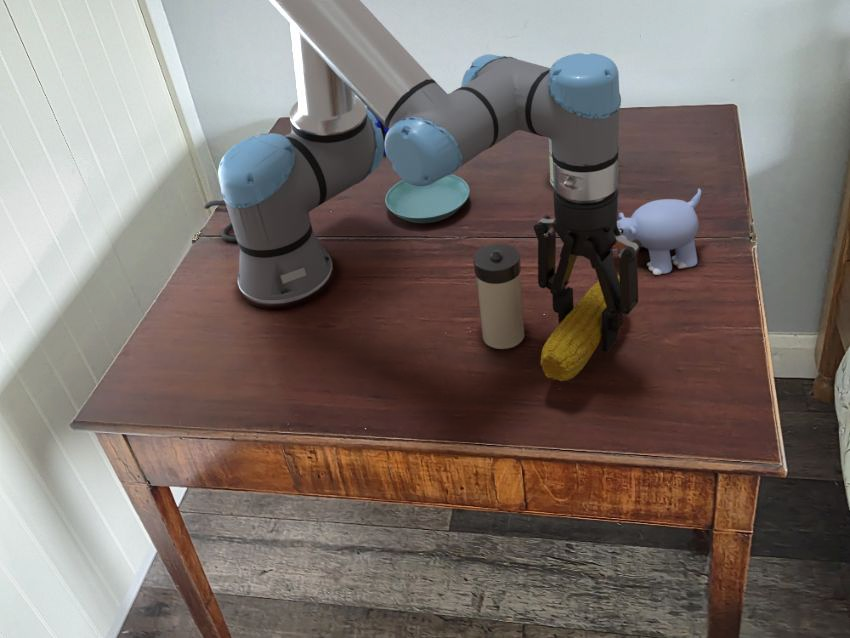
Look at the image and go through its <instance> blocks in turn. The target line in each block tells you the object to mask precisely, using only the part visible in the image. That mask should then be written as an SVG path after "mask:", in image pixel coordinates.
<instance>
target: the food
mask: <svg viewBox="0 0 850 638" xmlns="http://www.w3.org/2000/svg"><path fill="white" fill-rule="evenodd" d="M617 275H618V279H619V274H617ZM619 282H620V280H619ZM606 307H607V306H606V303H605V300H604V297H603V293H602V290H601V287H600V284H599V281H598V282H596V283H594V285H592V286H591V287H590V288H589V289H588V290H587V292H585V293H584V296H582V298H581V299H580V300H579V302H577V303H576V305H575V306H573V309H572V310H571V312H570V313H569V314H568V315H567V316H566V317H565V319H564V320H563V321H562V322H561V323H559V322H558V325H557V327H556V328H555V329H554V331H552V332H551V335H550V336H549V337H547V340H546V342H545V343H544V344H543V347H542V349H541V356H540V366H541V367H542V371H543V373H544V376H545V377H546V378H547V379H553V380H557V381H559V382H565V381H566V382H567V381H570V380H572V379H574V378H575V377H576V376H577V375H578V374H579V373H580V371H582V370H583V369H584V367H585V366H586V365H587V363H588V361H589V359H590V358H591V357H592V355H593V353H594V352H595V350H596V349H597V347H598V346H599V344H600V343H601V342H602V312H603V310H604V309H605V308H606Z"/></svg>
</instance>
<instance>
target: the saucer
mask: <svg viewBox="0 0 850 638" xmlns="http://www.w3.org/2000/svg"><path fill="white" fill-rule="evenodd" d="M469 196H470V186H469V183H467V182H466V180H464V178H462V177H461V176H458V175H456V174H454V173H452V174H450V175H447V176H445V177H443V178H442V179H440V180H438V181H436V182H434V183H432V184H430V185H427V186H415V185H412V184H409V183H407V182H406V181H404V180H403V179H401V180H400V181H398V182H397V183H396V184H394V185H393V186H392V187H390V189H389V190H388V191H387V193H386V195H385V199H384V202H385V204H386V207H387V208H388V210H389V211H390V212H391V213H393V215H395V216H397V217H399V218H400V219H402V220H404V221H406V222H409V223H414V224H432V223H437V222H440V221H443V220H446V219H448V218H450V217H451V216H453V215H454V214H455V213H457V212H458V211H459V210H460V209H461V208H462V207H463V206H464V205H465V203H466V202H467V200H468V198H469Z"/></svg>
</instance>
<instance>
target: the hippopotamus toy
mask: <svg viewBox="0 0 850 638" xmlns="http://www.w3.org/2000/svg"><path fill="white" fill-rule="evenodd" d="M701 197H702V189H701V188H697V193H696V194H695V195H694V196H693V197H692V198H691V200H690V201H688V202H687V201H686V200H682V199H675V198H665V199H664V198H663V199H656V200H653V201H649V202H647V203H644V204H642V205H641V206H639V207H638V208H637V209H636V210H635V211H634V212H633V213H632V215H631V216H630V217H626V216H625V214H624V212H618V218H619V220H617V227H618V229H619V231H620V236H622V237H623V238H625V239H627V240H629V241H631V242H632V241H633V240H634V239H638V240H639V241H640V242H641V244H642V245H641V248H645V249H647V250H648V254H649V260H650V261H648V262H647V263H646V266H647V267H648V268H647V269H648V270H649V271H650V272H652V274H653V276H660V275H663V274H664V275H665V274H668V273H670V272H671V271H673V265H674V266H676V267H677V269H679V270H682V269H685V268H692V267H695V266H696V265H697V264H698V261H699V260H698V256H697V250H696V244H695V237H697V234H698V231H699V227H700V226H699V225H700V224H699V223H700V222H699V218H698V215H697V213H696V211H695V208H696V207H697V206H698V205H699V203H700V201H701ZM612 250H613V253H618V249H617V247H616V246H615V245H614V246H613V247H612ZM672 250H674V252H675V255H673V256H671V252H670V251H672Z"/></svg>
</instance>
